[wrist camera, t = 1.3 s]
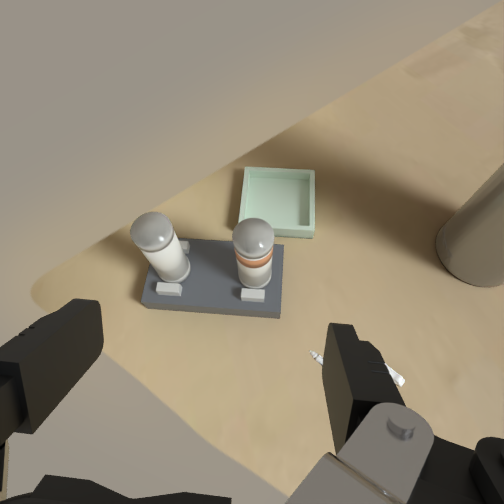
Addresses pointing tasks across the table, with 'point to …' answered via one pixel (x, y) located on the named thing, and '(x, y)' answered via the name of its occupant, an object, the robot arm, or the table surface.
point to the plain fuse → (161, 246)
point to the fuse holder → (215, 284)
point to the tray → (280, 200)
